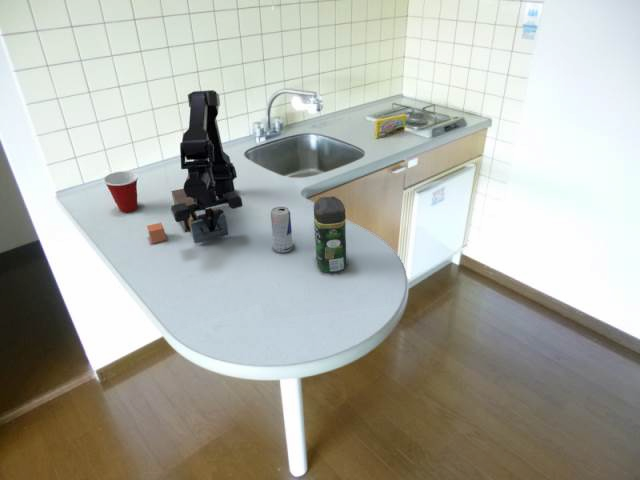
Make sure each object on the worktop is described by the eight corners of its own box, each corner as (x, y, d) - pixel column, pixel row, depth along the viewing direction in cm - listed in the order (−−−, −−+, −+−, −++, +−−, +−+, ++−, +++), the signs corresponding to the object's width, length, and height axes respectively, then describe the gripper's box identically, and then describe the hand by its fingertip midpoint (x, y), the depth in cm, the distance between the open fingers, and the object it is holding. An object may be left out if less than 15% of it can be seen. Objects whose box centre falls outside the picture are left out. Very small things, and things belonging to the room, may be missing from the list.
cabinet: (221, 222, 148) (217, 198, 144) (185, 231, 144) (180, 207, 139) (210, 206, 158) (205, 183, 154) (176, 214, 154) (171, 191, 150)
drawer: (233, 241, 136) (230, 221, 132) (198, 251, 132) (194, 230, 129) (217, 217, 149) (213, 198, 145) (185, 225, 145) (181, 206, 142)
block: (163, 234, 143) (161, 222, 141) (166, 240, 140) (163, 228, 138) (149, 237, 141) (146, 225, 139) (152, 244, 138) (149, 231, 136)
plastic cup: (135, 217, 153) (126, 184, 147) (106, 215, 155) (95, 182, 149) (152, 202, 162) (143, 170, 156) (124, 201, 164) (115, 169, 158)
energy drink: (295, 244, 135) (292, 207, 128) (288, 254, 130) (285, 216, 124) (278, 242, 136) (275, 205, 130) (271, 251, 132) (267, 214, 126)
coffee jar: (314, 255, 129) (311, 195, 120) (342, 252, 130) (341, 192, 120) (318, 275, 121) (315, 212, 111) (348, 272, 122) (348, 209, 112)
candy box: (376, 139, 209) (377, 121, 205) (374, 138, 211) (374, 120, 207) (405, 132, 216) (406, 114, 212) (402, 131, 218) (403, 113, 213)
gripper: (227, 165, 136) (234, 213, 144) (162, 179, 129) (173, 228, 137) (239, 179, 127) (246, 228, 135) (170, 194, 120) (181, 246, 128)
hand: (212, 232), depth 134 cm, fingers closed
